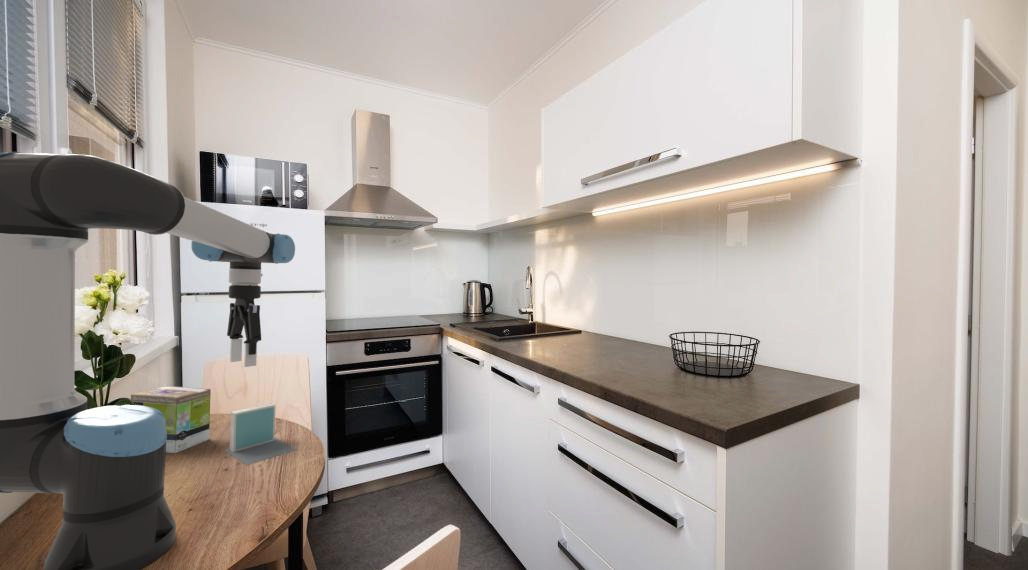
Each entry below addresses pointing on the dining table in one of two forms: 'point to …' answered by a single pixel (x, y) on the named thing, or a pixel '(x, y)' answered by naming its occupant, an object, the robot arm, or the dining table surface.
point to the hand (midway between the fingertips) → (242, 363)
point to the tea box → (180, 414)
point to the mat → (261, 452)
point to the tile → (252, 427)
